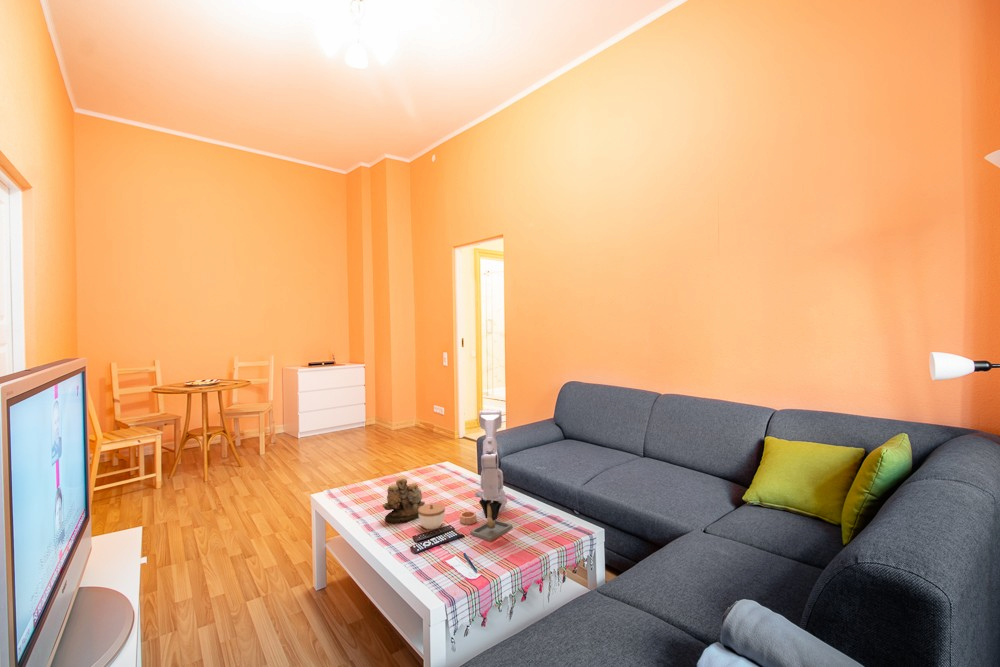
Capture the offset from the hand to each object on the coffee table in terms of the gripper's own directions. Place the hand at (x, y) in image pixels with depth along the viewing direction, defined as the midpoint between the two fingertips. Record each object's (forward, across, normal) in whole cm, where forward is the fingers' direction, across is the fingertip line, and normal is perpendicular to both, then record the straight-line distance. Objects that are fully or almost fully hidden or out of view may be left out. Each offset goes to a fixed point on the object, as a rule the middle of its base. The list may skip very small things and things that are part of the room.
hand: (491, 518), depth 183 cm
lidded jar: (+6, -23, -10) cm, 26 cm away
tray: (+6, 0, 0) cm, 6 cm away
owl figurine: (+6, -40, -10) cm, 42 cm away
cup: (+6, -14, +2) cm, 15 cm away
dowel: (+3, 0, 0) cm, 3 cm away
